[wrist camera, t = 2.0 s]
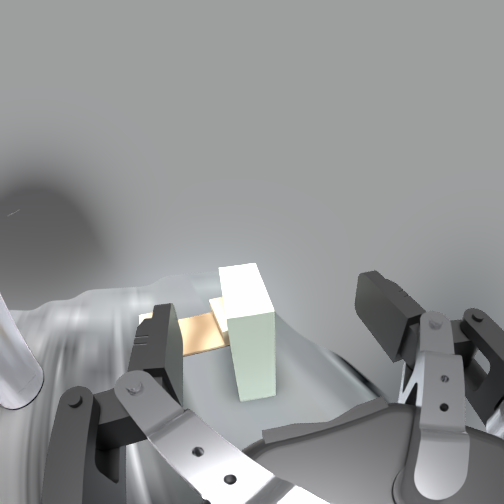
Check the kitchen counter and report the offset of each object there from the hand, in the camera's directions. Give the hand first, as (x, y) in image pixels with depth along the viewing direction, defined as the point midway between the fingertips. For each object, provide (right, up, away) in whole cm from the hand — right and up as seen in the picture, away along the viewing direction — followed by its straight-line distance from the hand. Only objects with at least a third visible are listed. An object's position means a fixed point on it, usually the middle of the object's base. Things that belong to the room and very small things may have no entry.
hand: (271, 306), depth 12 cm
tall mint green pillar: (-1, -11, +17) cm, 20 cm away
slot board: (-8, -8, +23) cm, 26 cm away
